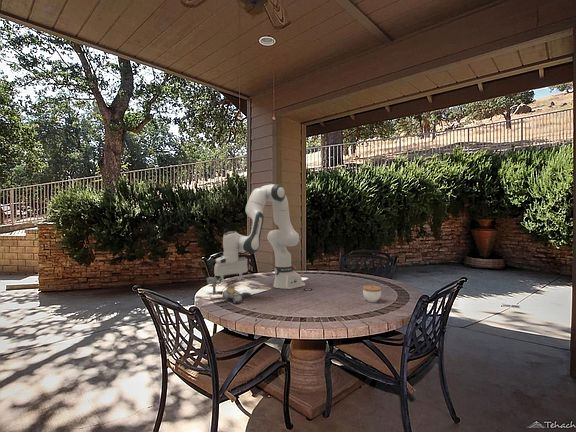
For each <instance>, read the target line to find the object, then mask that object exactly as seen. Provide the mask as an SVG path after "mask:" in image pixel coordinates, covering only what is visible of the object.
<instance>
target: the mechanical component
mask: <svg viewBox="0 0 576 432" xmlns="http://www.w3.org/2000/svg"><path fill="white" fill-rule="evenodd" d="M205 280H206V284H207V285H211V287H212V294H213V295H214V294H216V287H217V285H220V284H221V283H222V279H221V277H219V278H217V276H215V277H213V276H212V277H211V276H208V277H206V278H205Z"/></svg>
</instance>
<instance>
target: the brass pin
mask: <svg viewBox="0 0 576 432" xmlns="http://www.w3.org/2000/svg"><path fill="white" fill-rule="evenodd" d="M234 290H235V285H233V284H232V285H228V291H229V294H231V293H234Z"/></svg>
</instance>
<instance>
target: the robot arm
mask: <svg viewBox="0 0 576 432" xmlns="http://www.w3.org/2000/svg"><path fill="white" fill-rule="evenodd" d="M287 197H288V196H287V195H286V189H285V186H283V185H282V184H277V183H276V184H274V183H273V184H271V183H270V184H265V185H260V186H259V187H257V188H254V189H253V190H252V191H251V193H250V196H249V198H248V199H247V200H248V201H246V202H247V203H246V205H245V210H244V211H245V214H246V216H247V217H248V218H250V219H251V220H252V225H251V230H250V234H249V235H243V234H240V233H239V232H237V231H236V230H231V231H226V232H225V233H224V234H223V237H222V248H223V252H222V254H223V255H222V256H220V257H217V258H215V264H214V269H213V274H214V276H215V277H219V278H221V279H222V281H221V283H222V284H225V283H226V279H224V276H228V275H236V274H237V275H239V276H238V277H237V278H236V279H237V281H238V282H239V281H241V279H242V276H243V274H244V273H247V272H248V271H249V268H248V267H249V266H248V258H247V257H245V256H241V257H239V252H244V253H247V254H250V255H251V254H252V255H253V254H256V253H257V252H258V250H259V249H260V245H261V235H262V230H263V225H264V219H265V217H264V208H265V206H266V203H267V202H271V203H272V215H273V223H274V224H275V225H276V226H277V227H278V229H273V230H269V232H268V233H267V242H268V243H269V244H270V245H271V247H272V249H273V253H274V260H275V261H274V264H275V265H274V281H273V285H272V287H273V288H275V289H276V288H277V289H286V290H292V289H296V288H300V287H301V288H302V287H305V286H306V283H305V282H304V281H303V279H302V276H301V275H300V274H298V273H297V272H296V271H294V270H296V269H297V267H296V266H294V265H292V254H291V253H290V251H288V248H287V247H295V246H297V245H298V244H299V242H300V236H299V235H300V234H299V233H298V232H297V231H296V230H295V229H294V227H293V225H292V222H291V218H290V206H289V200H288V198H287Z"/></svg>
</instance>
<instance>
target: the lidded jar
mask: <svg viewBox="0 0 576 432" xmlns="http://www.w3.org/2000/svg"><path fill="white" fill-rule="evenodd" d="M362 295H363V297H364V299H365V300H366V301H367V302H369V303H377V302H378V301H379V300H380V299H381V296H382V287H381V286H379V285H374V284H371V285H369V284H368V285H364V286H362Z"/></svg>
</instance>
